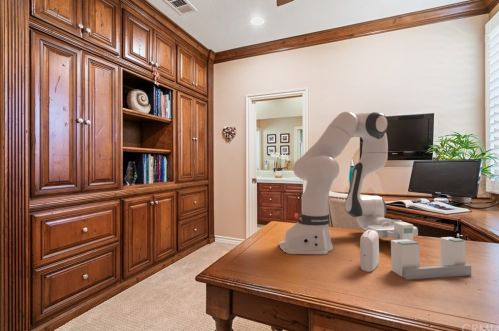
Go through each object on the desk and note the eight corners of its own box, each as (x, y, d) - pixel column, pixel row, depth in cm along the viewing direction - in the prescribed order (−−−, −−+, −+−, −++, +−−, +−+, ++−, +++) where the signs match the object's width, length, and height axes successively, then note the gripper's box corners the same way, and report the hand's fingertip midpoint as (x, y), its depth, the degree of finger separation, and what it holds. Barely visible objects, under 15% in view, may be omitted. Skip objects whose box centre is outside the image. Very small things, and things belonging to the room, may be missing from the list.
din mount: (406, 279, 75) (405, 245, 75) (391, 270, 82) (390, 239, 81) (471, 275, 77) (470, 241, 77) (451, 266, 84) (451, 235, 84)
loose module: (403, 253, 96) (402, 225, 96) (394, 248, 101) (393, 222, 101) (413, 252, 97) (413, 224, 97) (404, 248, 102) (403, 221, 102)
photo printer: (372, 273, 80) (372, 235, 80) (358, 269, 82) (358, 232, 82) (380, 263, 87) (380, 228, 87) (367, 260, 90) (367, 226, 90)
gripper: (361, 221, 111) (380, 229, 97) (403, 219, 113) (428, 227, 99) (361, 235, 111) (380, 245, 97) (403, 233, 113) (428, 243, 99)
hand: (405, 236), depth 98 cm, fingers closed on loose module, 4 cm apart
